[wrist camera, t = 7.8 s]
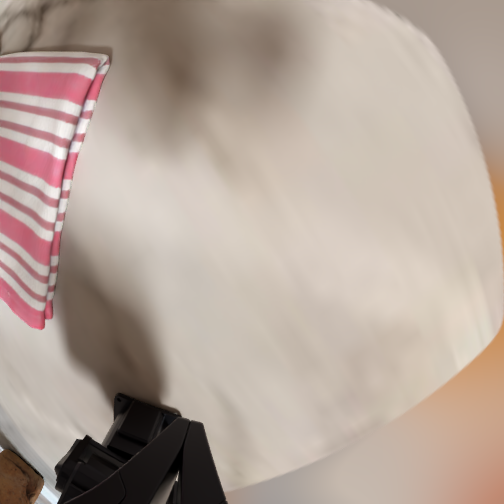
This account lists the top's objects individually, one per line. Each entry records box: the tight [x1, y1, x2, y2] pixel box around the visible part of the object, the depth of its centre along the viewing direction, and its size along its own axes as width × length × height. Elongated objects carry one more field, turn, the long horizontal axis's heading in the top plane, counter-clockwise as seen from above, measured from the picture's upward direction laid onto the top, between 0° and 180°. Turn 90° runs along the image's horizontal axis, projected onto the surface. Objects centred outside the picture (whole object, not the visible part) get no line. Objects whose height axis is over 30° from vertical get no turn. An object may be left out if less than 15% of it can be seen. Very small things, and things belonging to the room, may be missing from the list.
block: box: [0, 449, 44, 504], centre depth 20 cm, size 11×8×20 cm
